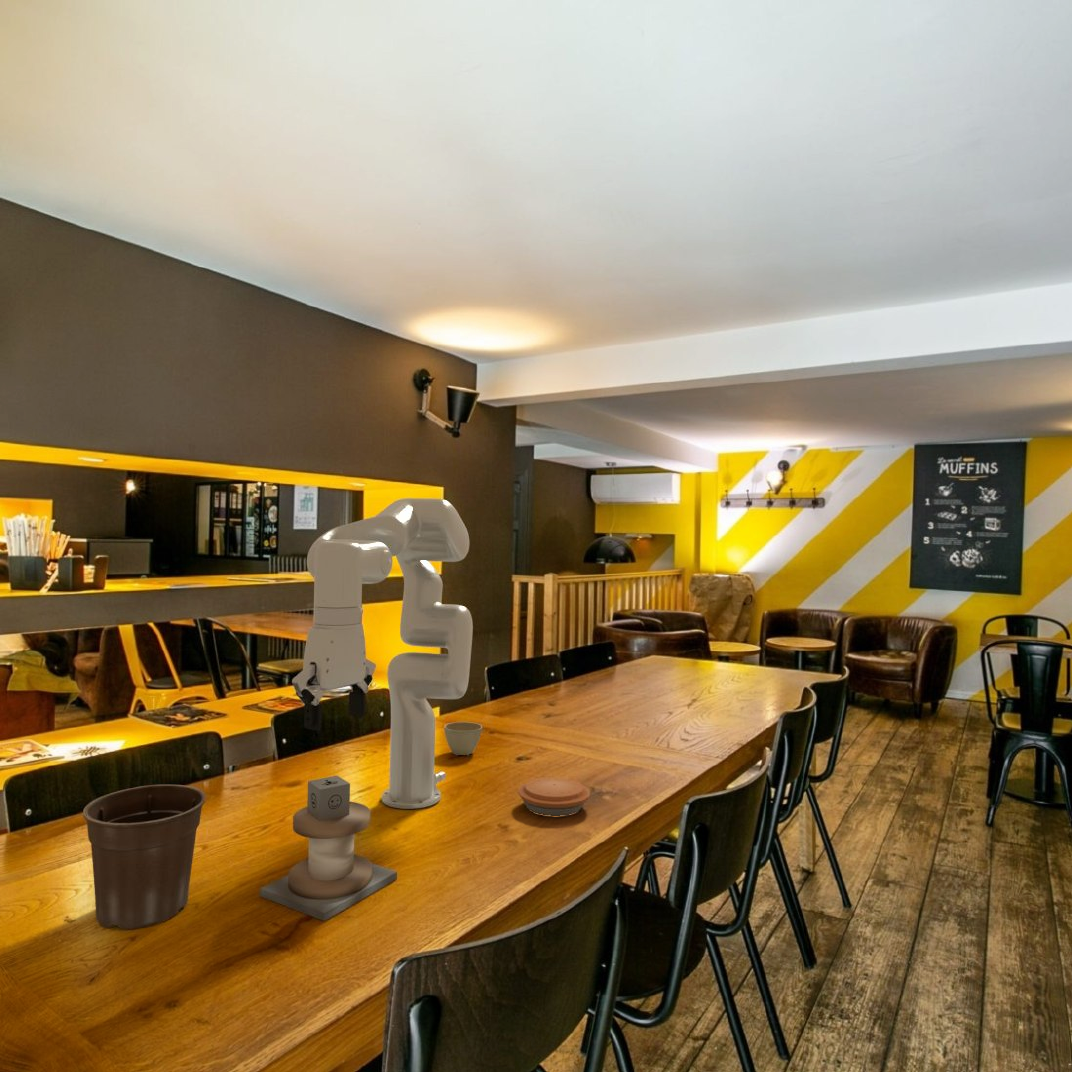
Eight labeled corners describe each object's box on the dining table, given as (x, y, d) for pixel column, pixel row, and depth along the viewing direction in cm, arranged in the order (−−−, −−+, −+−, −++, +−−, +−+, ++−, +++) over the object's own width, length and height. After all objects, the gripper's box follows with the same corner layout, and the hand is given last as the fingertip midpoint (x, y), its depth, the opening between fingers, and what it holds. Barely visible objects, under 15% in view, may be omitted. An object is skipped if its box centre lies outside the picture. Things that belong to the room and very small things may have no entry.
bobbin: (335, 858, 128) (337, 791, 128) (397, 878, 121) (398, 808, 121) (260, 896, 114) (261, 821, 114) (324, 921, 107) (326, 841, 107)
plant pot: (222, 909, 110) (224, 802, 110) (103, 953, 98) (106, 832, 98) (177, 874, 121) (179, 777, 121) (64, 910, 109) (67, 801, 109)
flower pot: (486, 757, 190) (487, 729, 190) (449, 760, 186) (449, 732, 186) (475, 746, 199) (475, 720, 199) (439, 749, 196) (440, 723, 196)
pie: (528, 824, 145) (528, 799, 145) (509, 798, 160) (510, 775, 160) (600, 818, 150) (601, 794, 150) (576, 793, 165) (576, 770, 165)
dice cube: (319, 821, 114) (320, 789, 114) (307, 811, 118) (307, 781, 118) (349, 814, 118) (350, 783, 118) (336, 805, 121) (337, 775, 122)
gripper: (358, 611, 128) (356, 708, 128) (278, 620, 113) (276, 730, 113) (391, 614, 124) (389, 714, 124) (313, 624, 109) (311, 738, 109)
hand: (335, 722), depth 119 cm, fingers open, 9 cm apart
